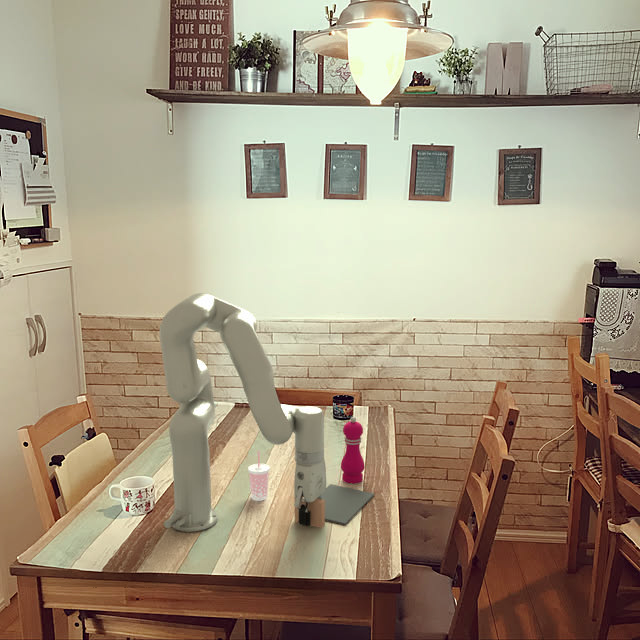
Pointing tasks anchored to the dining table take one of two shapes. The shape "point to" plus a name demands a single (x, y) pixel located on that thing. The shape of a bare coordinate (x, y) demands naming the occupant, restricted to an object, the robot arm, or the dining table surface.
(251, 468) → the beverage cup
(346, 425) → the pepper mill
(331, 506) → the mat
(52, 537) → the dining table surface
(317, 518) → the tile
